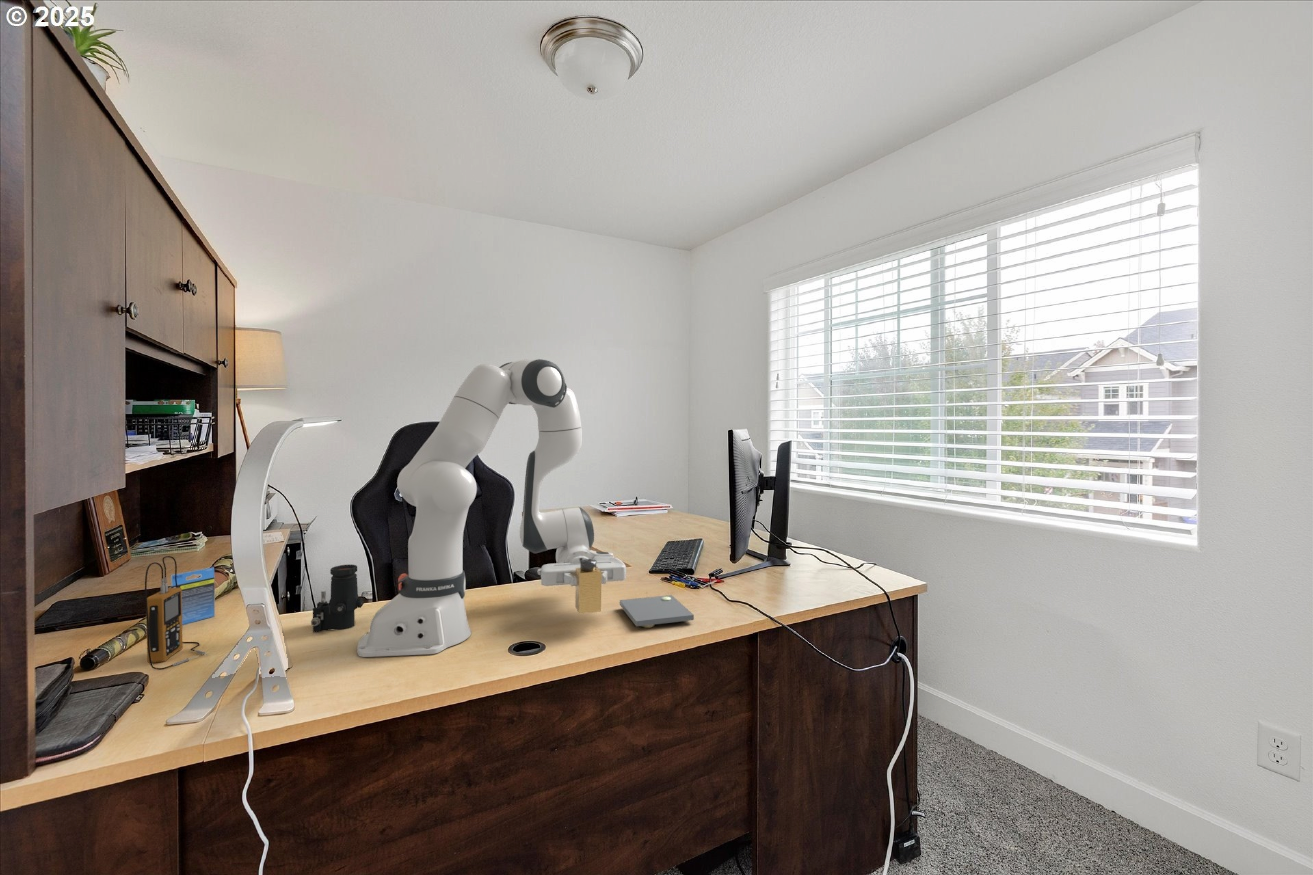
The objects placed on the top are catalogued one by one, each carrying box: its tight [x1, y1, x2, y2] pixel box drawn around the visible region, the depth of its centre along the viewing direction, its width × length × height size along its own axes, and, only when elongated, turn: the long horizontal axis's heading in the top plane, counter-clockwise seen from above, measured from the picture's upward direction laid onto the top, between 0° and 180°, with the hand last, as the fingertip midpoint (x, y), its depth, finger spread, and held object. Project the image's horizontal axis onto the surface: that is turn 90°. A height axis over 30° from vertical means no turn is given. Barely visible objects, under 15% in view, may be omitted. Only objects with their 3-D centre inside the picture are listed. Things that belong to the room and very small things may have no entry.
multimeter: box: [144, 555, 210, 670], centre depth 114 cm, size 15×10×20 cm
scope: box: [310, 564, 364, 634], centre depth 129 cm, size 8×14×10 cm
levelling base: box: [619, 594, 695, 628], centre depth 136 cm, size 14×16×2 cm
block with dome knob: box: [574, 559, 602, 614], centre depth 127 cm, size 5×5×11 cm
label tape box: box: [168, 566, 216, 626], centre depth 133 cm, size 9×4×12 cm, turn 154°
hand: (589, 581), depth 126 cm, fingers closed on block with dome knob, 5 cm apart
